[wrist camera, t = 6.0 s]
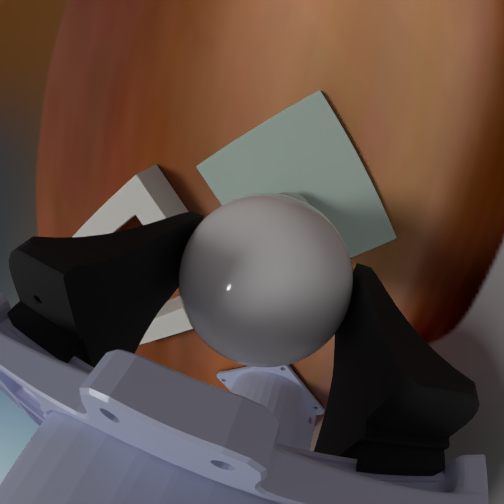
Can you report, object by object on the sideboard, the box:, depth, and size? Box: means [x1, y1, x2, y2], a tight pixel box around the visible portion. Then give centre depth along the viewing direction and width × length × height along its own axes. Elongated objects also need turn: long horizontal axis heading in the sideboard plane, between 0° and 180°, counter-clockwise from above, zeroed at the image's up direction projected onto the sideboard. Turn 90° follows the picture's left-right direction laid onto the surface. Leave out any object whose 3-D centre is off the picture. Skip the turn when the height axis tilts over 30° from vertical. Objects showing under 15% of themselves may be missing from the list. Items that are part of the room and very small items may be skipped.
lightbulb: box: [179, 191, 353, 367], centre depth 13 cm, size 6×6×11 cm
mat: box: [196, 90, 397, 258], centre depth 18 cm, size 10×9×1 cm
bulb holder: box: [73, 164, 193, 345], centre depth 24 cm, size 12×14×2 cm
